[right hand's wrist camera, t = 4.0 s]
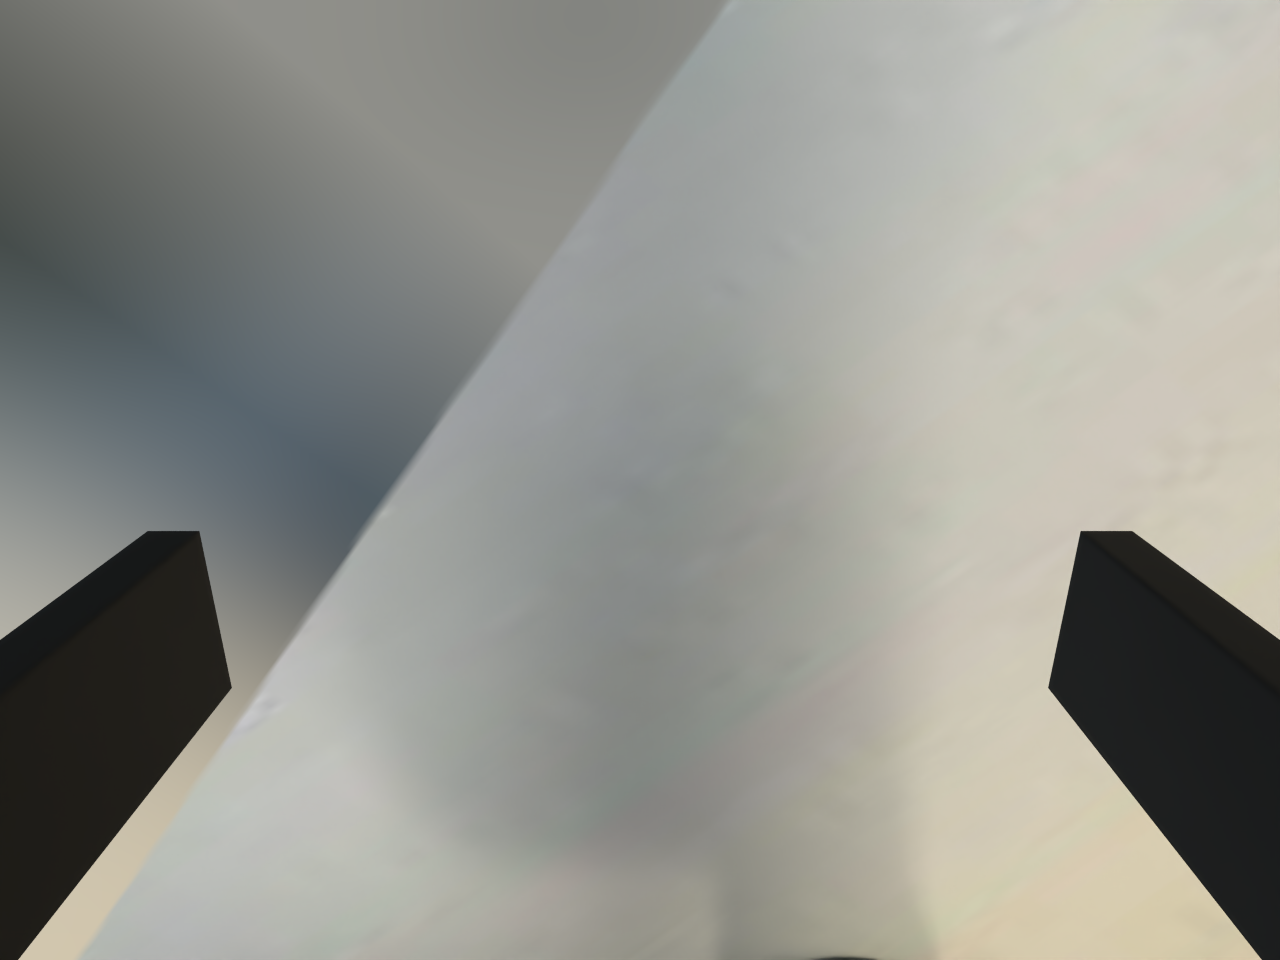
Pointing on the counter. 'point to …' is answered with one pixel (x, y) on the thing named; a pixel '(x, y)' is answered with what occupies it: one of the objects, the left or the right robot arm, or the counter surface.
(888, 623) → the counter surface
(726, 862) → the counter surface
